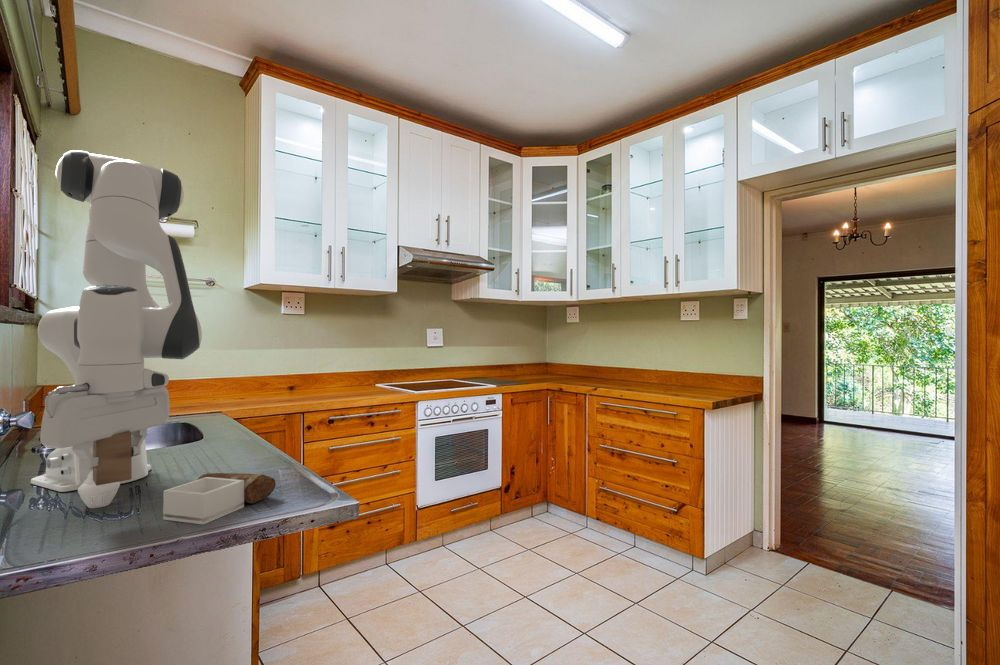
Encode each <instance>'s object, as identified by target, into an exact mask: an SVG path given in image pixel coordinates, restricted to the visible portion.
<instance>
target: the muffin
mask: <svg viewBox="0 0 1000 665" xmlns="http://www.w3.org/2000/svg"><path fill="white" fill-rule="evenodd" d="M120 486H121V484H120V482H114V483H109V484H103V485H97V486H96V484H95V483H94V481H93V471H92V472H90V473H89V474H88V475H87V479H86V480H85V481H84V483H83V484H82V485H81V486H80V487H79V488H78V490H77V493H78V495H79V497H80V499H81V500H82V501H83V503H84V504H85V505H86V507H87V508H88V509H98V508H99V509H100V508H103V507H107V506H109V505H111V503H112V501H113V499H114V498H115V496H116V495H117V493H118V491H119V488H120Z"/></svg>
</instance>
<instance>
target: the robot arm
mask: <svg viewBox="0 0 1000 665" xmlns="http://www.w3.org/2000/svg"><path fill="white" fill-rule="evenodd" d="M62 155H63V156H62V157H60V159H59V160H58V162H57V164H56V167H55V178H56V180H57V183H58V185H59V187H60V191H61V192H62V193H63V194H64V195H66V197H68V198H70V199H72V200H75V201H78V202H81V203H84V202H87V203H89V209H88V210H89V211H88V217H89V218H88V219H89V222H88V226H87V229H86V235H85V247H84V257H83V267H82V268H83V270H82V274H83V277H84V278H85V280H86V281H87V282H88V284H90V285H91V286H88V287H85V288H83V290H82V293H81V296H80V299H79V300H80V301H79V305H76V306H75V305H74V306H67V307H61V308H56V309H51V310H48V311H47V312H46V313H45V314H44V315H43V316H41V318H40V320H39V322H38V326H37V336H38V340H39V341H40V343H41V345H42V346H43V347H44V348H45V349H46V350H48V351H49V352H51V353H53V354H54V355H55V356H57V357H58V358H59V359H60V360H62V362H63V363H64V364H65V365H66V367H67V368H68V370H69V372H70V374H71V375H72V378H73V381H74V384H73V385H68V386H67V385H61V386H57V387H55V388H54V390H52V391H51V392H49V393H48V395H47V396H45V399H44V410H43V415H42V419H41V427H40V437H39V440H40V441H39V442H40V443H41V445H43V446H44V447H45V448H47V449H48V448H49V449H54V450H53V451H51V452H50V453H49V454H48V455H47V458H46V461H45V466H46V467H45V473H44V474H41V475H38V476H34V477H32V478H31V479H30V484H32V485H35V486H39V487H42V488H45V489H49V490H51V491H52V490H53V491H56V492H59V493H62V492H63V493H65V492H66V493H67V492H72V491H78V488H79V487H80V486H81V485H82V484H83V483H84V481H85V480H86V479H87V475H88V474H89V473H90V472H92V471H93V468H96V467H98V463H97V462H98V457H93V441H96V440H100V439H104V438H109V437H111V436H112V435H113V434H118V433H122V432H126V431H130V432H131V468H132V479H131V480H125V481H120V485H121V484H126V483H130V482H134V481H137V480H139V479H140V480H141V479H142V478H145V477H146V476H148V475H149V471H150V470H151V469H152V466H151V464H148V457H147V449H146V448H147V446H146V439H145V438H146V437H147V433H148V432H147V429H150V428H154V427H159V426H162V425H165V424H166V423H167V422H168V420H169V419H170V394H169V390H168V389H167V387H166V386H168V385H169V381H170V380H169V379H170V378H169V375H168V374H166V373H163V372H158V371H155V370H151V369H149V368H145V359H157V358H158V359H161V358H162V359H164V360H165V359H166V360H168V359H169V360H185V359H186V358H188V357H189V356H191V355H192V354H193V353H195V352H196V351H197V350H198V349H200V346H201V343H202V338H203V332H202V327H201V326H202V325H201V323H200V320H199V317H198V315H197V313H196V310H195V308H194V307H195V306H194V304H193V298H192V293H191V289H190V285H189V281H188V276H187V271H186V268H185V267H186V266H185V264H184V260H183V256H182V253H181V249H180V247H179V244H178V242H177V240H176V239H175V237H173V236H171V235H170V234H167V233H166V232H165V230H164V228H162V226H161V224H160V221H161V219H165V218H169V217H171V216H173V215H174V214H176V213H177V212H178V210H179V209H180V208H181V206H182V204H183V200H184V197H185V196H184V194H185V193H184V192H185V191H184V187H183V185H182V180H181V179H180V177H179V175H177V174H175V173H173V172H171V171H169V170H167V169H164V168H161V169H160V168H157V167H154V166H151V165H148V164H145V163H142V162H139V161H134V160H131V159H129V158H128V159H124V158H119V157H115V156H108V155H103V154H96V153H89V151H85V150H74V149H73V150H69V151H67V152H64V153H63V154H62ZM146 266H149V267H150V268H152V269H155V270H156V271H157V272H158V273H159V274H160V275H161V276H162V278H163V283H164V287H165V291H166V296H167V300H168V305H166V306H163V307H161V306H160V305H159V304H158V303H157V302H156V301H155V300H154V298H153V297H152V294H151V293H150V291H149V288H148V284H147V278H146V277H147V276H146V275H147V274H146V272H147V271H146V270H147V269H146Z"/></svg>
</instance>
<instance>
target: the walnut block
mask: <svg viewBox="0 0 1000 665" xmlns="http://www.w3.org/2000/svg"><path fill="white" fill-rule="evenodd" d="M93 457H98V462H97V463H98V467H96V468H93V481H94V483H95V484H96V486H97V485H103V484H109V483H114V482H120V481H125V480H131V479H132V468H131V432H130V431H126V432H122V433H118V434H113V435H112V436H111V437H109V438H104V439H100V440H96V441H93Z"/></svg>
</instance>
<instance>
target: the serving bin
mask: <svg viewBox="0 0 1000 665" xmlns="http://www.w3.org/2000/svg"><path fill="white" fill-rule="evenodd" d="M197 479H198V478H197ZM197 479H196V480H193V481H190V482H186V483H183V484H181V485H176V486H173V487H171V488H168V489H165V490H163V502H162V503H163V505H162V511H163V514H162V520H165V521H174V522H182V523H188V524H197V525H206V524H208V523H210V522H213V521H214V520H217V519H219V518H222V517H225V516H227V515H229V514H232V513H234V512H236V511H239V510H241V509H243V508H245V502H244V480H236V479H225V478H214V477H205V478H202V479H198V480H197Z"/></svg>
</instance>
